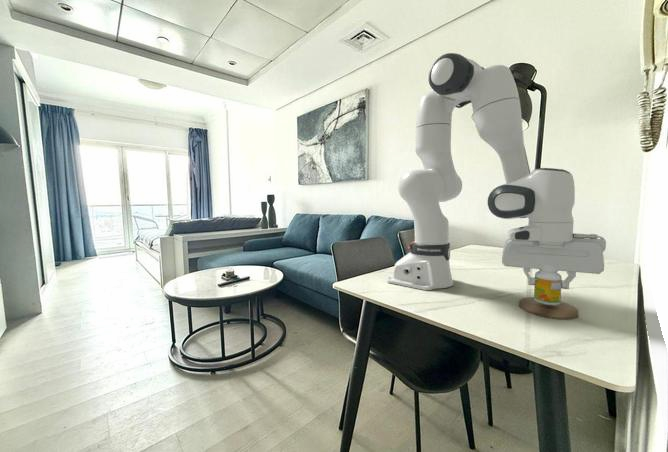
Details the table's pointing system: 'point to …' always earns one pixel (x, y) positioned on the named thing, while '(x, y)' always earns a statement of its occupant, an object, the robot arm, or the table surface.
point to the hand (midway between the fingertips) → (547, 286)
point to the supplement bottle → (547, 286)
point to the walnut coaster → (549, 309)
